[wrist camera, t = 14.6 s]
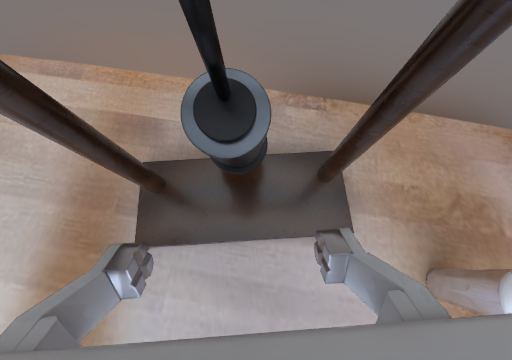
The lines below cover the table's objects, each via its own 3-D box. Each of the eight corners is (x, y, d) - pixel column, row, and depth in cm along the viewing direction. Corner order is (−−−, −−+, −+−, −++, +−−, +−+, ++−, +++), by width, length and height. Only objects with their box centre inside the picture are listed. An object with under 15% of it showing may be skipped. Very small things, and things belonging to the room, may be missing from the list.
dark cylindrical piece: (268, 172, 22) (351, 142, 4) (211, 175, 22) (22, 163, 4) (263, 92, 22) (324, -311, 4) (206, 95, 22) (-11, -309, 4)
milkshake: (443, 248, 24) (567, 250, 14) (471, 299, 23) (630, 339, 13) (407, 261, 24) (511, 272, 14) (433, 314, 22) (569, 366, 13)
